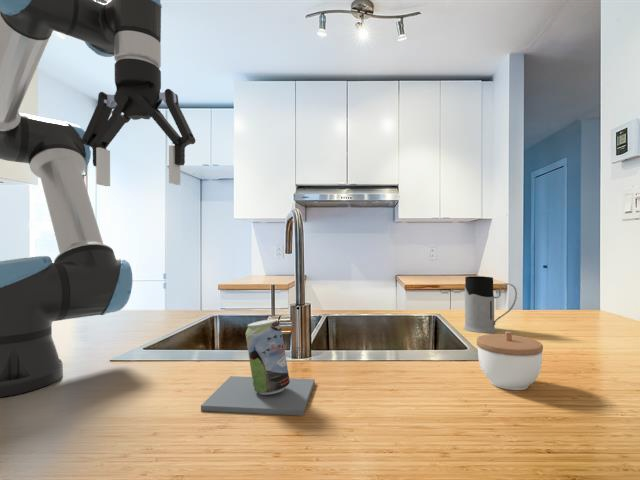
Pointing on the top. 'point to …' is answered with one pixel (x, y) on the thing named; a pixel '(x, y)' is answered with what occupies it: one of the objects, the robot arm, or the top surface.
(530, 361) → the lidded jar
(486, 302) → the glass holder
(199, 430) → the top surface
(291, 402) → the rubber mat
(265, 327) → the beverage can
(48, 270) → the robot arm
